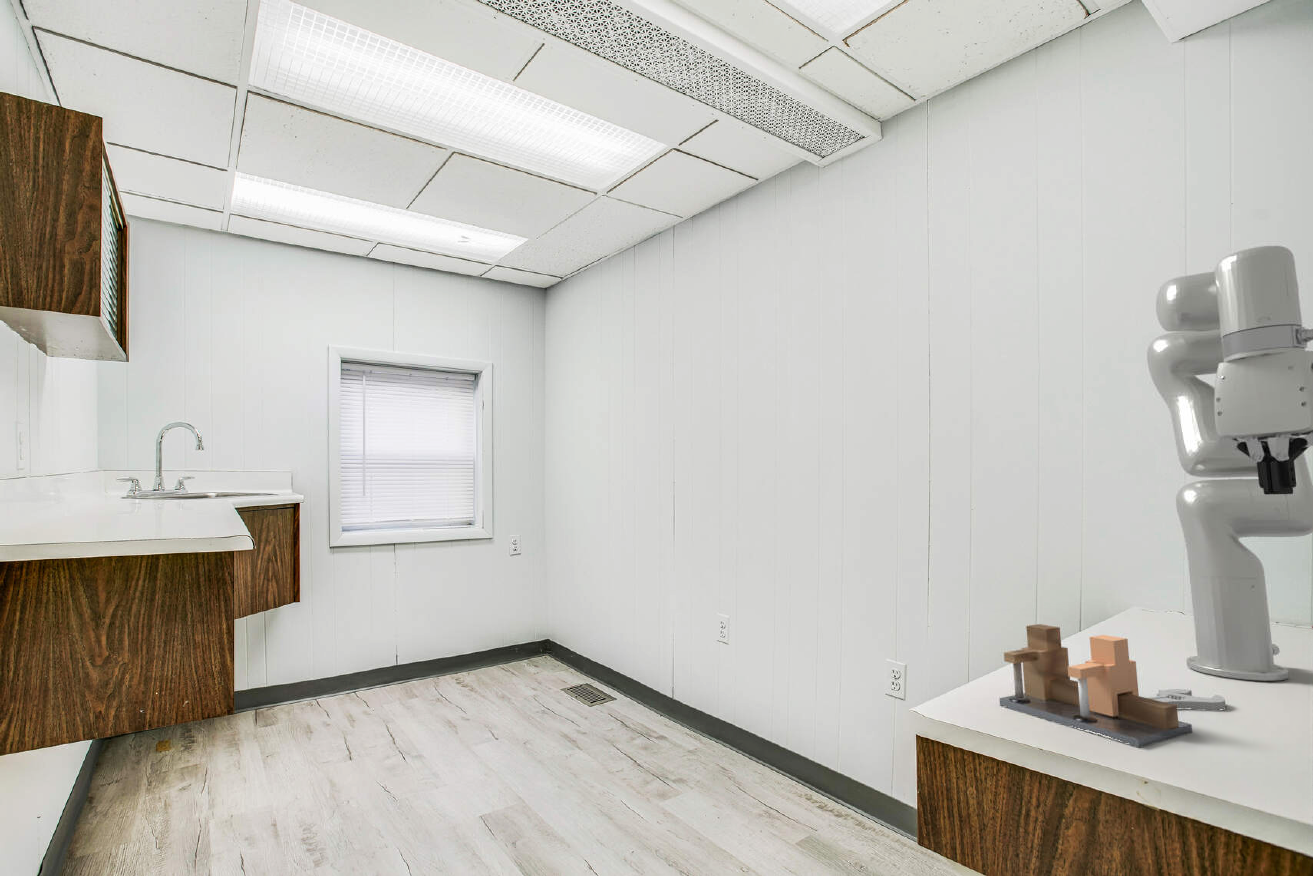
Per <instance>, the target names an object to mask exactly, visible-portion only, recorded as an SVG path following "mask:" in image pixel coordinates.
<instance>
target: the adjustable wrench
mask: <svg viewBox="0 0 1313 876" xmlns="http://www.w3.org/2000/svg"><path fill="white" fill-rule="evenodd" d="M1192 694H1193V692H1192V689H1187V688H1184V689H1183V688H1170V689H1169V688H1168V689H1163V690H1162V689H1158V692H1157V693H1156V696H1152V697H1151V696H1150V697H1148V698H1149V699H1153V700H1157V701H1161V702H1165V703H1170V704H1174V705H1177V708H1191V709H1201V710H1200V711H1203V710H1202V709H1205V710H1204V711H1211V710H1218V711H1221V710H1220V709H1224V708H1225V707H1227V705H1226V698H1224V697H1223V696H1222V695H1219V694H1215V695H1214V696H1212V697H1200V696H1194V695H1192ZM1191 709H1190V710H1191ZM1225 709H1226V708H1225ZM1225 709H1224V710H1225Z"/></svg>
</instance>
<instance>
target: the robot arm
mask: <svg viewBox="0 0 1313 876" xmlns="http://www.w3.org/2000/svg"><path fill="white" fill-rule="evenodd" d="M1299 296H1300V295H1299V283H1298V279H1297V269H1296V262H1295V258H1294V254H1293V252H1292V251H1291V249H1289V248H1288V247H1285V246H1281V245H1264V246H1262V245H1261V246H1255V247H1250V248H1247V249H1243V250H1242V249H1241V250H1239V251H1236V252H1234V253H1233V252H1232V253H1231V254H1228V255H1226V256H1224V257H1223V258H1222V259H1220V260H1219V261H1218V262H1217V263H1216V265H1215V268H1214V271H1208V272H1202V273H1197V274H1189V275H1185V276H1179V277H1175V278H1171V279H1168V280H1166V281H1165V282H1164V283H1162V284H1161V286H1160V287H1159V289H1158V291H1157V295H1156V299H1155V300H1156V301H1155V302H1156V303H1155V311H1156V315H1157V320H1158V322H1159V325H1160V326H1161V328H1162V329H1163V330H1164V331H1165V332H1169V333H1166V334H1163V335H1160V336H1158V337H1156V338H1154V339H1153V340H1152V341H1151V342H1150V343H1149V345H1148V348H1147V351H1146V352H1147V353H1146V358H1147V359H1146V360H1147V366H1148V370H1149V374H1150V377H1151V380H1152V382H1153V384H1154V387H1155V388H1156V390H1157V391H1158V393H1159V395H1160V397H1161V398H1162V399H1163V401H1164V403H1165V404H1166V405H1167V408H1168V409H1169V412H1170V417H1171V423H1172V428H1173V433H1174V439H1175V445H1176V446H1175V447H1176V451H1177V455H1178V460H1179V462H1180V463H1179V464H1180V466H1181V468H1182V469H1183V470H1184V471H1185V473H1187V474H1188V475H1189V476H1192V477H1197V478H1211V479H1207V480H1206V479H1205V480H1198V481H1193V482H1190V483H1188V484H1185V485H1183V486H1182V487H1181V488H1180V489H1179V490H1178V491H1177V493H1176V497H1175V506H1176V507H1175V508H1176V511H1177V515H1178V518H1179V522H1180V525H1181V529H1182V533H1183V537H1184V543H1185V548H1186V554H1187V560H1188V571H1189V573H1188V574H1189V580H1190V581H1189V582H1190V592H1191V593H1190V594H1191V602H1192V604H1191V605H1192V614H1193V622H1194V632H1195V633H1194V635H1195V642H1196V643H1195V644H1196V652H1197V653H1196V654H1197V655H1195V656H1190V657H1188V658H1186V666H1187V667H1188V668H1189V669H1192V670H1193V671H1197V672H1200V673H1204V674H1206V675H1213V676H1218V677H1224V678H1230V679H1235V680H1236V679H1238V680H1247V681H1259V682H1261V681H1262V682H1263V681H1264V682H1272V681H1273V682H1275V681H1283V680H1287V679H1288V678H1289V677H1290V675H1289V670H1288V669H1287V668H1285V667H1283V666H1282V665H1281V666H1280V665H1279V664H1275V659H1274V656H1276V655H1279V654H1280V652H1281V651H1280V647H1279V646H1278V645H1276V644H1274V643H1273V641H1272V632H1271V622H1270V615H1269V613H1270V612H1269V604H1268V596H1267V595H1268V594H1267V585H1266V577H1265V575H1266V574H1265V569H1264V566H1263V563H1262V561H1261V560H1260V558H1259V557H1258V556H1257V555H1256V553H1254V552H1253V551H1252V550H1250V548H1248V547H1247V546H1246V545H1244V544H1243V543H1242V542H1241V541H1240V539H1241V538H1250V537H1251V538H1252V537H1253V538H1257V537H1258V538H1292V537H1293V538H1295V537H1296V538H1297V537H1299V538H1300V537H1305V536H1307V535H1310V534H1313V482H1312V481H1313V480H1312V478H1311V474H1310V469H1309V467H1308V463H1307V459H1306V455H1305V453H1304V452H1305V451H1306V450H1307V449H1308V448H1310V447H1313V351H1312V350H1306V349H1307V348H1308V343H1310V342H1312V341H1313V328H1311V329H1310V328H1306V327H1304V326H1303V321H1302V311H1301V305H1300V297H1299ZM1215 374H1216V375H1215ZM1203 375H1215V380H1214V381H1215V382H1214V384H1215V385H1214V386H1212V385H1211V384H1210V383H1208V382H1206V381H1203V380H1201V378H1198V376H1203ZM1248 477H1249V478H1248ZM1250 477H1251V478H1252V477H1253V478H1252V479H1251V478H1250ZM1254 477H1255V478H1254ZM1212 478H1213V479H1212ZM1215 478H1216V479H1215ZM1217 478H1218V479H1217ZM1219 478H1220V479H1219ZM1221 478H1223V479H1221ZM1224 478H1228V479H1224ZM1231 478H1232V479H1231ZM1235 478H1236V479H1235ZM1244 478H1246V479H1244ZM1247 478H1248V479H1247Z"/></svg>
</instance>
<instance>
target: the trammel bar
mask: <svg viewBox="0 0 1313 876" xmlns="http://www.w3.org/2000/svg"><path fill="white" fill-rule="evenodd" d="M1025 627H1026V641H1027V647H1021V649H1019V650H1018V649H1017V650H1011V651H1005V652H1003V659H1004V662H1006V663H1009V664H1012V666H1013V667H1012V668H1013V669H1012V670H1013V681H1014V695H1015V697H1016V698H1020V699H1022V698H1024V696H1023V693H1025V695H1028V696H1032V697H1035V698H1039V699H1043V700H1048V699H1056V700H1060V701H1063V702H1067V703H1071V704H1074V705H1078V706H1080V701H1079V689H1078V680H1073V679H1071V677H1069V676H1068V666H1070V663H1069V650H1068V647H1066V646H1062V637H1061V628H1060V626H1053V625H1047V624H1043V623H1039V624H1031V625H1026V626H1025ZM1117 699H1118V711H1119V715H1118V717H1122V718H1126V719H1129V720H1133V721H1137V722H1140V723H1144V724H1148V725H1152V726H1155V727H1159V728H1163V729H1166V730H1167V729H1171V728H1175V727H1178V726H1179V724H1178V721H1179V716H1178V713H1179V712H1178V709H1177V705H1174V704H1170V703H1165V702H1161V701H1157V700H1153V699H1149V697H1145V696H1144V697H1143V696H1140V695H1139V696H1136V695H1132V694H1128V693H1120V694H1117Z"/></svg>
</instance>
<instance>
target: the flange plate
mask: <svg viewBox="0 0 1313 876" xmlns="http://www.w3.org/2000/svg"><path fill="white" fill-rule="evenodd" d="M1023 696H1024V698H1022V699H1020V698H1016V697H1015V694H1013V695H1008V696H1004V697H999V698H998V699H999V706H1000V705H1002V706H1001V707H1003V706H1006V707H1005V708H1007V707H1008V708H1007V709H1009V710H1013V711H1016V710H1017V712H1020V713H1024V714H1026V715H1028V716H1029V715H1030V716H1033V717H1036V718H1040V719H1044V720H1046V721H1049V722H1054V723H1056V724H1059V723H1060V724H1059V725H1062V724H1063V726H1067V727H1069V726H1073V727H1076V728H1080V729H1083V730H1089V731H1092V732H1095V733H1100V734H1102V735H1105V736H1109V737H1111V738H1113V739H1117V740H1120V741H1122V742H1124V743H1123V744H1125V743H1129V744H1130V745H1129V746H1131V745H1132V746H1131V747H1135V746H1136V747H1135V748H1139V749H1140V748H1144V747H1147V746H1150V745H1154V744H1157V743H1160V742H1165V741H1168V740H1171V739H1174V738H1178V737H1182V736H1187V735H1189V734H1192V733H1193V726H1192V724H1191V723H1189V722H1185V721H1181V720H1178V724H1179V726H1178V727H1175V728H1171V729H1167V730H1166V729H1163V728H1159V727H1155V726H1152V725H1148V724H1144V723H1140V722H1137V721H1133V720H1129V719H1126V718H1122V717H1118V716H1114V717H1113V716H1109V715H1105V714H1102V713H1098V712H1094V711H1091V710H1090V717H1082V716H1081V714H1080V706H1078V705H1074V704H1071V703H1067V702H1063V701H1060V700H1056V699H1048V700H1043V699H1039V698H1035V697H1032V696H1028V695H1025V692H1023Z"/></svg>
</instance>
